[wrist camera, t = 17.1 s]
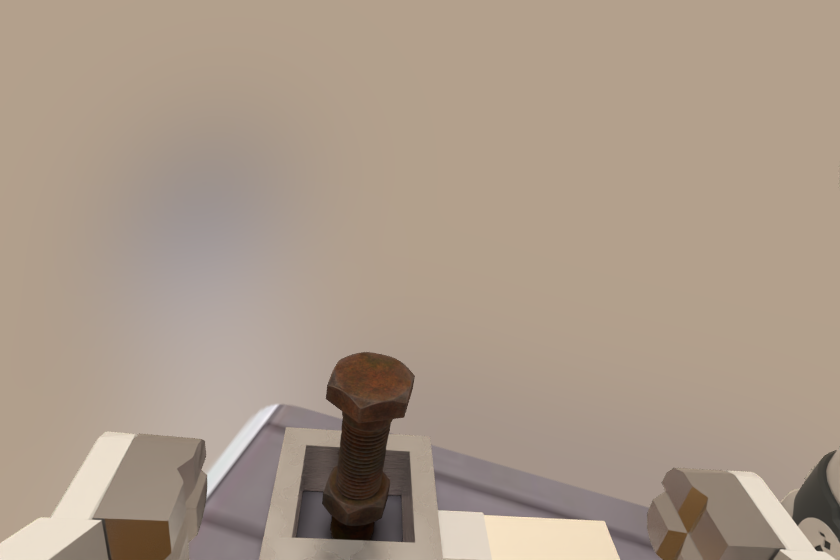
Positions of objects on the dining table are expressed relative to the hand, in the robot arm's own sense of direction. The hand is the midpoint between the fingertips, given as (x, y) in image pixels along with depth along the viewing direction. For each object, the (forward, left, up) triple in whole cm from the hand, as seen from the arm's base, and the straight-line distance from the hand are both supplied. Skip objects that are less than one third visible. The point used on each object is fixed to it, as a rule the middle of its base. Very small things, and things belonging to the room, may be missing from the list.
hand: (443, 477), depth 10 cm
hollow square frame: (0, -21, -30) cm, 37 cm away
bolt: (0, -21, -30) cm, 37 cm away
